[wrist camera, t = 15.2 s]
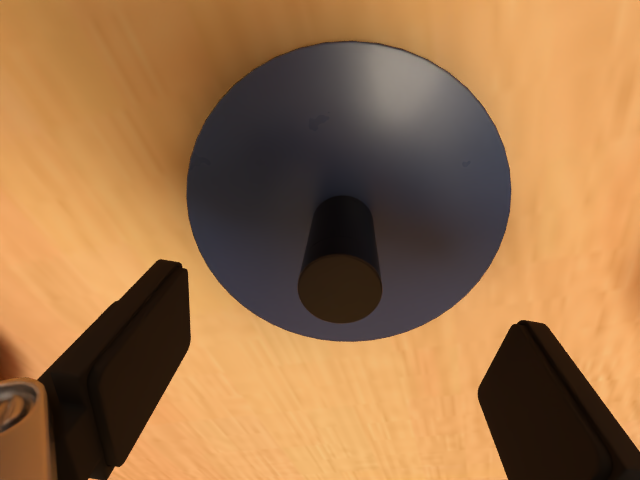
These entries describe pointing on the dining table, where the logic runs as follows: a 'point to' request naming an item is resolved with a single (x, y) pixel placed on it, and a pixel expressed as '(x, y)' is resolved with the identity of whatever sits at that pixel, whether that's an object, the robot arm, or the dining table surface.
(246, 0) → the dining table surface
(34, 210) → the dining table surface
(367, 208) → the lid
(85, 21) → the dining table surface
